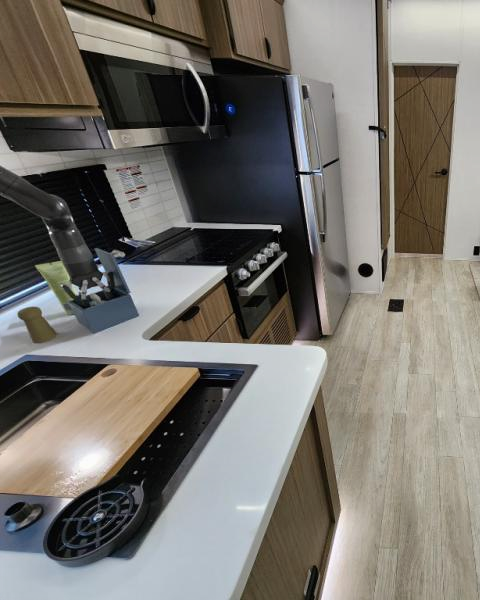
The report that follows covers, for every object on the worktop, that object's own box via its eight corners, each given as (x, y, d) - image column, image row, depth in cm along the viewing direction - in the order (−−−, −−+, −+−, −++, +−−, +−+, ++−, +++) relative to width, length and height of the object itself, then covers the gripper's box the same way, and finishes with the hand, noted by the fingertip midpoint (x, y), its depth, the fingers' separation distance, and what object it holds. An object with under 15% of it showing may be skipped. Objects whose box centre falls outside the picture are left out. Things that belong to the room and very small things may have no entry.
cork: (38, 334, 110) (20, 306, 105) (61, 331, 112) (44, 302, 106) (27, 344, 105) (8, 315, 100) (51, 340, 107) (33, 311, 101)
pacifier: (105, 302, 119) (87, 310, 114) (98, 286, 117) (79, 293, 111) (120, 304, 117) (103, 312, 112) (113, 288, 115) (95, 296, 110)
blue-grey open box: (94, 333, 110) (81, 310, 106) (79, 323, 116) (67, 301, 112) (139, 315, 120) (130, 294, 116) (123, 307, 126) (114, 286, 122)
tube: (77, 307, 126) (51, 259, 117) (89, 307, 126) (64, 259, 117) (62, 314, 121) (34, 265, 112) (74, 315, 121) (47, 265, 112)
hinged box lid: (110, 255, 109) (127, 250, 112) (94, 248, 115) (111, 244, 118) (128, 293, 116) (143, 288, 119) (112, 285, 121) (127, 280, 125)
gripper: (99, 250, 114) (119, 294, 122) (43, 263, 103) (69, 310, 111) (108, 254, 110) (128, 299, 118) (52, 268, 100) (78, 316, 108)
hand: (100, 304), depth 115 cm, fingers closed on pacifier, 5 cm apart
